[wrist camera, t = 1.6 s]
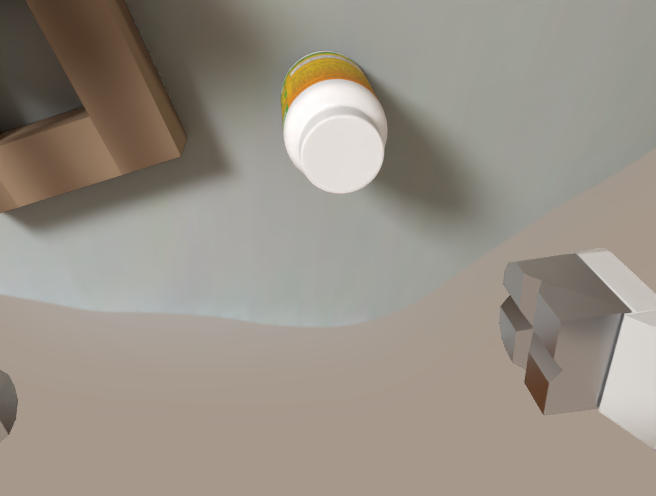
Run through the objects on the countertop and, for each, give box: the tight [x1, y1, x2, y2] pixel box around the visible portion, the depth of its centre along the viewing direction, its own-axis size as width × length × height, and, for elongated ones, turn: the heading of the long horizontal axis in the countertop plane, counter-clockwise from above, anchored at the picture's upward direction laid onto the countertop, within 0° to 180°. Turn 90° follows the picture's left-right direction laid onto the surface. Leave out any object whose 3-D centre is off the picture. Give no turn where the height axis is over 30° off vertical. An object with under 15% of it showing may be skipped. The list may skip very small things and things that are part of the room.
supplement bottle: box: [281, 51, 387, 194], centre depth 29 cm, size 5×5×10 cm
